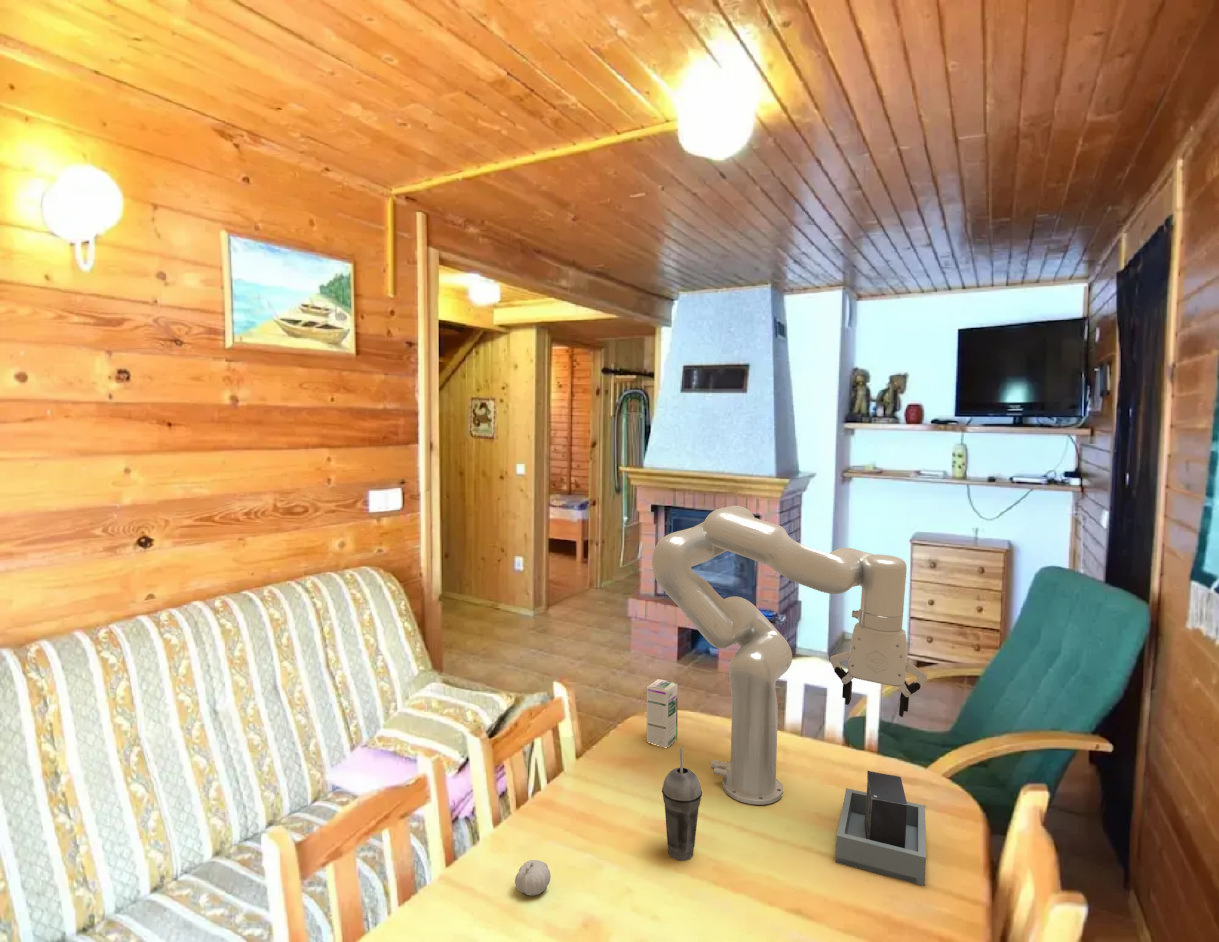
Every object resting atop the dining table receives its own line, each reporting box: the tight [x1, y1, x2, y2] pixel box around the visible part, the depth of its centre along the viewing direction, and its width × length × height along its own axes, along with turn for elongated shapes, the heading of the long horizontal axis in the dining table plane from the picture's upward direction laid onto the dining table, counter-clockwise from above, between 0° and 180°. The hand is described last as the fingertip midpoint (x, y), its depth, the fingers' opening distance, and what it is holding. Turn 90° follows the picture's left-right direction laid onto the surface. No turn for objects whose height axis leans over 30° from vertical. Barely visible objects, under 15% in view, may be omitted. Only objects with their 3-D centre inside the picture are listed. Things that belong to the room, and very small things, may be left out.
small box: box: [865, 770, 908, 848], centre depth 125 cm, size 11×6×10 cm, turn 163°
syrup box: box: [646, 678, 678, 748], centre depth 165 cm, size 6×6×14 cm
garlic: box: [514, 859, 551, 896], centre depth 112 cm, size 6×5×5 cm
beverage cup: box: [661, 747, 703, 862], centre depth 122 cm, size 7×7×20 cm
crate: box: [835, 787, 927, 887], centre depth 125 cm, size 14×17×5 cm
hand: (874, 707), depth 129 cm, fingers open, 9 cm apart
